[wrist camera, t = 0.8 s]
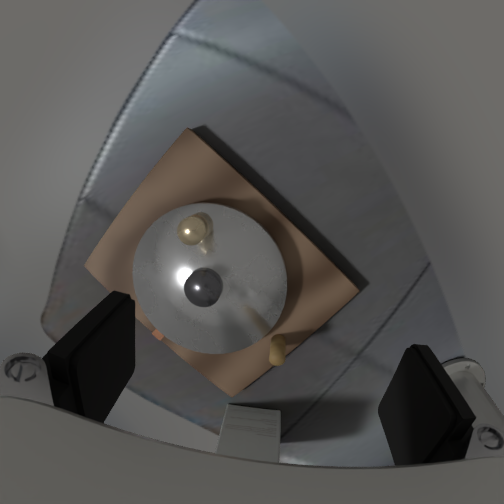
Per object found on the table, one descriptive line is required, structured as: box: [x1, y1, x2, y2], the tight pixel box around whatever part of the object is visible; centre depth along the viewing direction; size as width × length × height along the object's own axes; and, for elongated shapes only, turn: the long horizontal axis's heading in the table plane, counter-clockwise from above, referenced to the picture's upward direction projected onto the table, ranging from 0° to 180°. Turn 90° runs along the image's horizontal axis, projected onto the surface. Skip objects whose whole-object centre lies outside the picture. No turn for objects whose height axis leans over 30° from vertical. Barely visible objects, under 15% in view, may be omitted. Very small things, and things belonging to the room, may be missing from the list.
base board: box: [84, 128, 359, 397], centre depth 32 cm, size 24×20×5 cm
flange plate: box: [132, 202, 287, 354], centre depth 31 cm, size 16×17×5 cm
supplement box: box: [215, 404, 281, 463], centre depth 34 cm, size 7×7×13 cm
